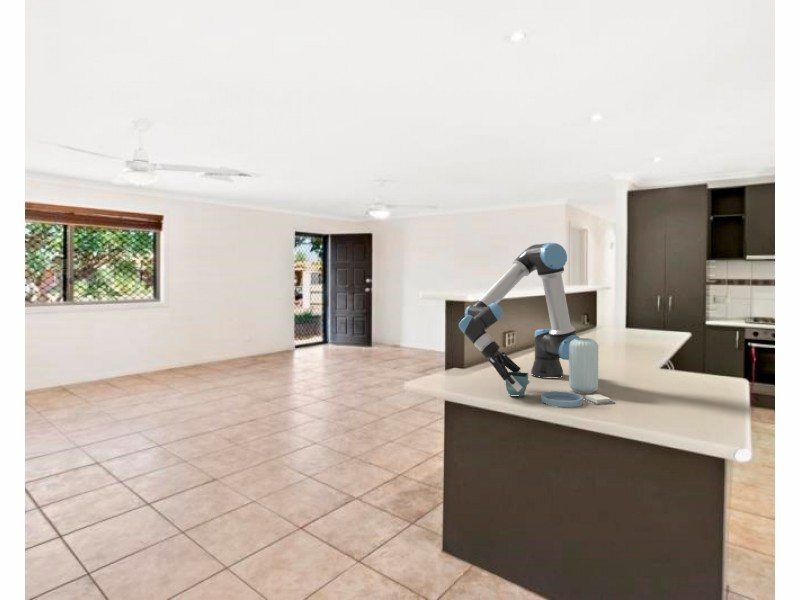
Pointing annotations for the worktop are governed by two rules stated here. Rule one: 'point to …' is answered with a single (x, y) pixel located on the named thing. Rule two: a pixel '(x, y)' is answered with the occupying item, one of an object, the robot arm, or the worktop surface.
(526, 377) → the flower pot
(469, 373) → the worktop surface
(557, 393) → the dish
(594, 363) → the vase
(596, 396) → the mat with cloth
